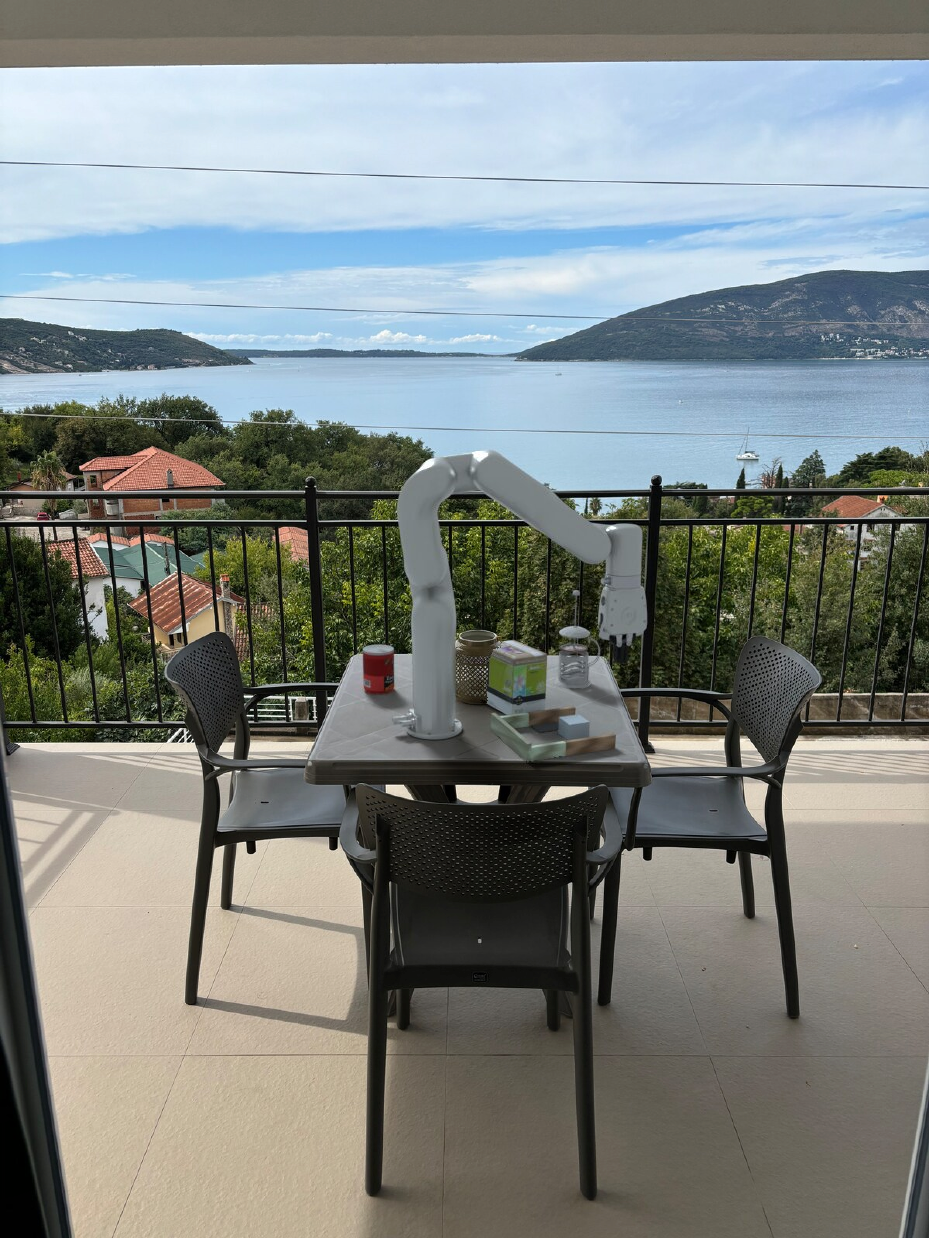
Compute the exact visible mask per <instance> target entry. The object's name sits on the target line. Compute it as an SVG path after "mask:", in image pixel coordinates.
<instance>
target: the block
mask: <svg viewBox="0 0 929 1238" xmlns="http://www.w3.org/2000/svg"><path fill="white" fill-rule="evenodd" d="M590 723H591V722H590V721H589V720H588V719H586V718H585V717H583V716H582V715H580V714H575V715H570V716H563V717H559V722H558V725H559V729H558V730H557V731H558V735H559V736H562V737H563V738H564V739H565V741H567V740H574V739H580V738H587V737H590Z"/></svg>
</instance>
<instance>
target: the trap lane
mask: <svg viewBox="0 0 929 1238" xmlns="http://www.w3.org/2000/svg"><path fill="white" fill-rule="evenodd" d="M576 708H577V707H576V706H573V705H572V706H566V707H559V708H550V709H545V710H542V711H535V712H527V713H520V714H513V715H506V714H504V715H498V713H496V712H492V713H490V731H491V730H492V731H493V733H494V734H495V736H496V737H498V736H499V737H500V738H501V739H502V740H501V739H500V738H499V737H498V738H499V739H500V740H501V741H502V742H504V743H505V744H506V743H507V744H508V745H507V744H506V745H507V746H508V747H509V746H510V747H511V748H512V749H511V748H510V747H509V748H510V749H511V750H513V751H514V753H516V754H517V753H518V754H519V755H518V754H517V755H518V756H521V757H520V758H521V759H523V761H525V760H526V761H527V762H526V761H525V762H526V763H529V761H531V762H535V761H534V760H537V761H543V760H549V758H550V759H555V758H554V757H556V758H560V757H559V756H562V757H567V756H575V755H581V754H587V753H588V754H589V753H592V752H599V751H605V750H612V749H616V740H617V739H616V738H617V736H616V735H617V734H615V733H614V732H613V733H608V734H601V735H594V736H589V737H587V738H580V739H574V740H562V741H554V742H548V743H540V744H535V745H532V742H531V741H529V740H528V739H527V738H526V737H525V736H524V735H522V734H521V733H520V732H518V731H517V730H516V729H519V728H526V727H531V725H534V724H542V723H549V722H555V723H556V724H557V723H559V717H563V716H570V715H576ZM492 731H491V732H492Z"/></svg>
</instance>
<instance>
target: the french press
mask: <svg viewBox="0 0 929 1238" xmlns="http://www.w3.org/2000/svg"><path fill="white" fill-rule="evenodd" d="M580 594H581V592H580V590H577V589H575V590H573V591H572V596H575V600H577V596H580ZM574 608H575V610H574V625H571V626H566V627H563V628H562V629H560V630H559V631H558V633H559V635H560V636H561V637H563V638H567V639H573V643H567V644H565V643H564V644H562V645H561V646H560V647H559V648H560V651H559V652H558V671H557V672H558V673H557V674H558V676H557V678H556V679H554V681H555V682H554V681H553V683H554V684H555V685H556V684H557V685H558V687H561V688H564V689H569V688H582V689H585V687H586V688H588V687H587V686H588V685H589V684H590V682H591V681H590V680H589V674H590V673H589V671H590V667H592V666H594V665H595V664H596V663H597V662H598V661H599V660H600V656H601V648H600V645H599V643H598V641H597V639H595V638H593V637H592V636H590V635H591V632H590V630H588V629H586V628H584V627H581V626H578V625H576V623H577V621H576V620H577V617H576V616H577V604H575V607H574ZM587 637H588V639H587V641H588V644H590V643H591V641H593V642H594V643H595V644H596V645H597V647H598V652H597V656H596V657H595V659H594V660H592V661H591V662H589V656H590V655H589V652H588V650H589V648H588V646H586V645H583V644H579V643H575V642H576V639H585V638H587ZM572 654H573V655H572ZM574 654H575V655H574ZM577 654H579V655H577ZM570 655H571V656H570ZM573 663H574V664H573ZM557 685H556V686H557Z"/></svg>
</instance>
